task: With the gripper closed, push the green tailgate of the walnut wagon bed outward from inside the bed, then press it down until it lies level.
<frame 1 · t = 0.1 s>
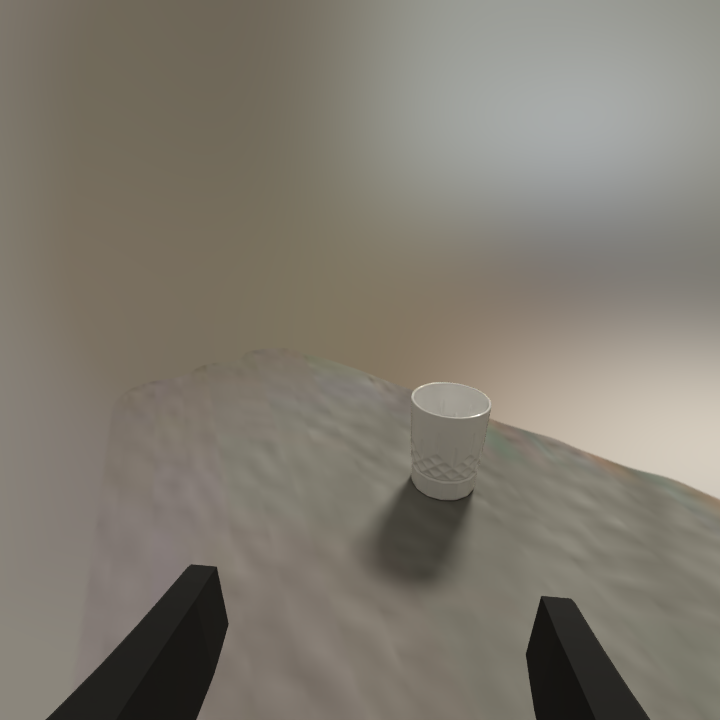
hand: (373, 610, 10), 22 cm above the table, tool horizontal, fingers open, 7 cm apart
white cup: (442, 482, 49), on the table
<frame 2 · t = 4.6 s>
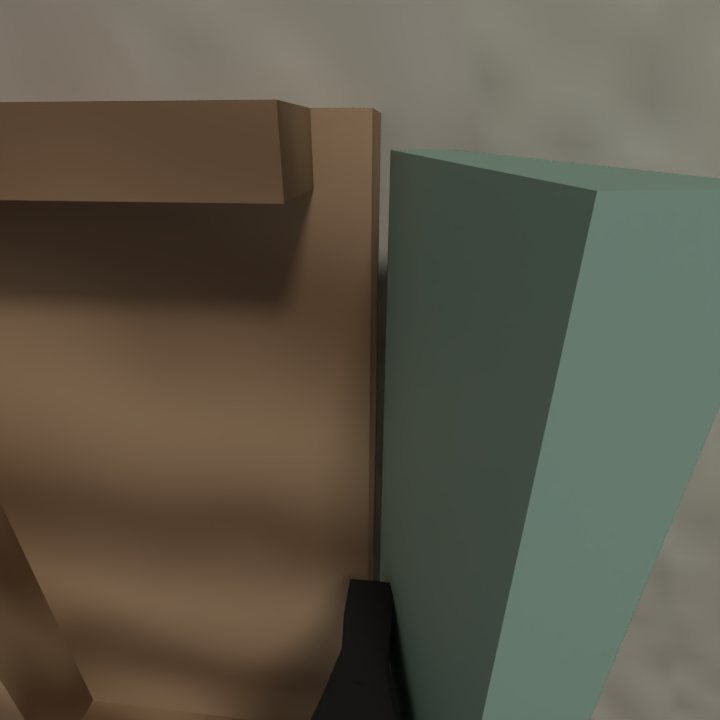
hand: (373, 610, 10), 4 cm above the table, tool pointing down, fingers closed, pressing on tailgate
tailgate: (440, 682, 9), point 5 cm above the table, hinge at 11.3°, touching gripper
wagon bed: (196, 484, 14), on the table
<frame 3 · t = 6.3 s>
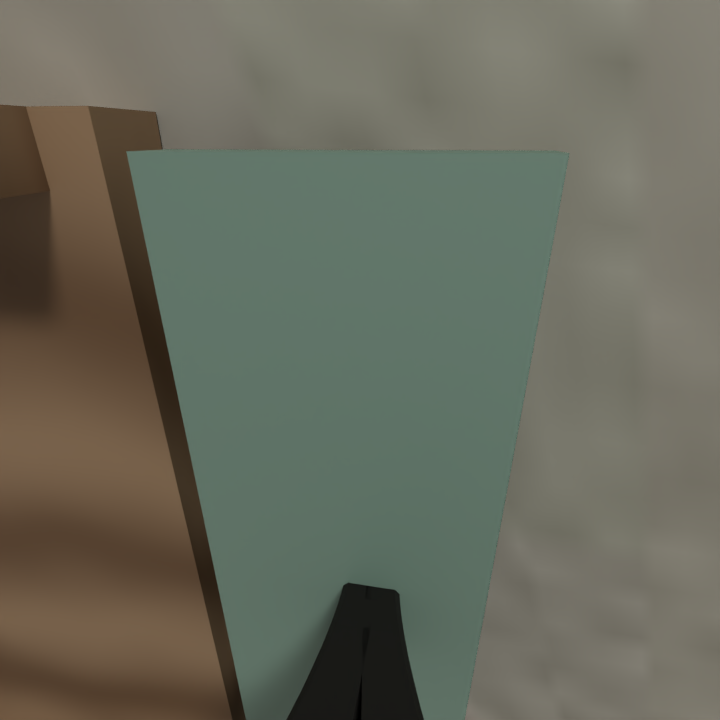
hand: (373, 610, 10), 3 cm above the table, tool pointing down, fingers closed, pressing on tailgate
tailgate: (349, 581, 11), point 2 cm above the table, hinge at 84.5°, touching gripper
wagon bed: (47, 495, 13), on the table
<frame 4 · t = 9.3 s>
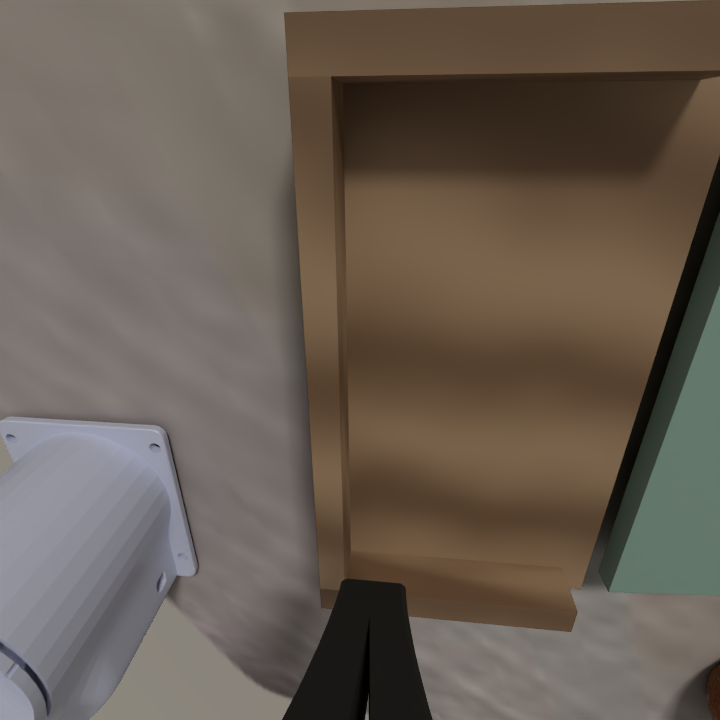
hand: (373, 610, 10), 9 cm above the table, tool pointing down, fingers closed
wagon bed: (470, 355, 17), on the table
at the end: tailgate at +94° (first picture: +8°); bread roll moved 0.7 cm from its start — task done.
